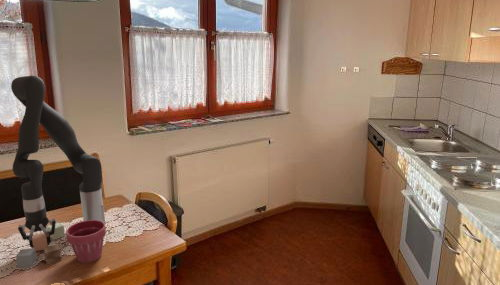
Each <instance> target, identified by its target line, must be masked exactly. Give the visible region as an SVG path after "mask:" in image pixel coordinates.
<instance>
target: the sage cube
mask: <svg viewBox="0 0 500 285" xmlns="http://www.w3.org/2000/svg"><path fill="white" fill-rule="evenodd" d="M46 227H47V229H48V231H51V228H52V225H50V224H49V225H47V226H46ZM65 236H66V231H65V226H64V224H62V223H60V222H56V224H55V232H54V234H53V235H51V236H50V238H51V240H53V241H55V240H57V239H60V238H63V237H65Z"/></svg>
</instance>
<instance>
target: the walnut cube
mask: <svg viewBox="0 0 500 285" xmlns="http://www.w3.org/2000/svg"><path fill="white" fill-rule="evenodd" d="M43 254H44V260H45V263H46V265H50V264H54V263H57V262H61V261H62V256H61V248H60V247H59V244H58V243H56V244H52V245H48V247H44V249H43Z"/></svg>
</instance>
